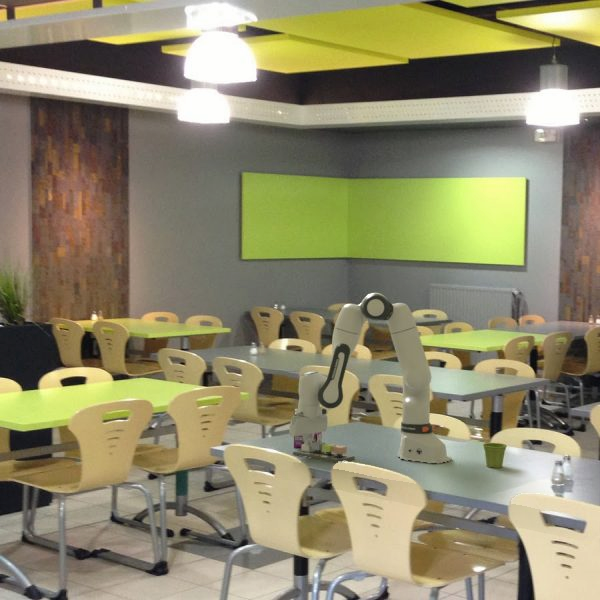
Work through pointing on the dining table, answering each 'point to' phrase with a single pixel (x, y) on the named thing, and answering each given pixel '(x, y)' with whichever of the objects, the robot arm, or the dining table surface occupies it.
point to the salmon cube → (339, 450)
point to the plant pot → (494, 454)
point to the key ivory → (307, 448)
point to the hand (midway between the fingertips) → (308, 444)
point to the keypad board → (324, 456)
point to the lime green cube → (328, 448)
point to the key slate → (317, 446)
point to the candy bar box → (317, 436)
